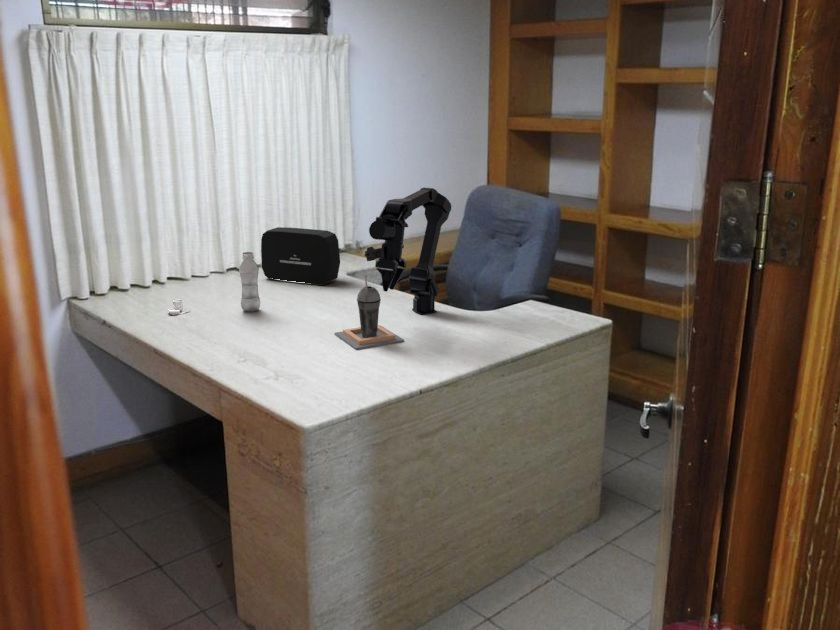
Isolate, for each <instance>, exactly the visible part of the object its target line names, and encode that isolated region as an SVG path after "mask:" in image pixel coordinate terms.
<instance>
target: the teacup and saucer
mask: <svg viewBox="0 0 840 630" xmlns="http://www.w3.org/2000/svg"><path fill="white" fill-rule="evenodd" d="M172 306H173V307H172V308H174V310H169V309H168V310H169V313H170V314H169V315H184V314H183V313H184V312H182V311H183V309H182V307H183V299H179V298H178V299H173V300H172ZM180 311H181V312H180ZM179 313H180V314H179Z"/></svg>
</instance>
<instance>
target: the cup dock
mask: <svg viewBox="0 0 840 630" xmlns="http://www.w3.org/2000/svg"><path fill="white" fill-rule="evenodd" d="M334 335H335V336H336V337H337V338H339V339H340V340H342V341H343V342H344V343H345V344H347V345H349V346H350V348H353V349H354V350H356V351H357V350H364V349H369V348H375V347H382V346H387V345H392V344H394V345H395V344H399V343H404V342H405V339H404V338H402V337H401V336H399V335H397V334H395V333H394V332H392V331H391V330H389V329H387V328H385V326H382V325H379V324H378V328H377V336H376V337H370V338H363V337H362V332H361V326H359V327H353V328H352V327H351V328H347V329H343V330H342V331H336V332H334Z"/></svg>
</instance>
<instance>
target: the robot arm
mask: <svg viewBox="0 0 840 630" xmlns="http://www.w3.org/2000/svg"><path fill="white" fill-rule="evenodd" d="M420 207H423V208H424V216H425V219H426V222H427V223H426V227H425V230H424V231H425V232H424V236H423V241H422V244H421V245H422V246H421V249H420V254H419V259H418V263H417V264H416V266H413V267H411V268H410V272H409V276H408V287H409V292H410V294H411V295H412V294H413V295H414V297H413V299H412V300H413V301H412V308H411V310H412V311H413V312H415V313H417V314H419V315H427V314H433V313H434V314H435V313H438V311H437V309H435V302H436V301H435V297H438V295H439V294H440V287H439V285H438V284H437V283H436V274H435V270H434V267H433V265H434V263H435V258H436V253H437V250H438V249H437V248H438V243H439V239H440V233H441V229H442V226H443V225H444V223H446V222H447V221H448V219H449V216H450V213H451V211H452V203H451V202H450V200H449V199H448V198H447V197H446V196H444V195H443V194H441V193H439V192H438V190H437V189H435V188H432V187H421V188H420V189H419V190H417V191H415V192H413V193H411V194H409V195H407V196H405V197H402V198H392V199H389V200H387V202H386V203H385V205H384V207H383V209H382V210H381V212H380V214H379V216H376V217H375V220H374V221H373V222H372V223H371V224H370V226H369V228H368V232H369V236H370V237H371V238H372V239H374V240H377V241H379V240H381V241H384V242H383V243H382V244H381V247H380V248H375V247H374V246H369V247H367V248H366V251H364V258H365V257H366V258H365V259H366V262H371V261H375V264H374V265H375V266H374V267H375V269H376V270H377V271H378V272H379V273H380V276H381V282H382V289H383V292H385V293H386V292H388V290H394V289H395V287H396V286H397V283H398V281H399V280H400V278H401V276H402V275H403V273H404V271H405V268H406V267H407V260H406V259H405V258H403V257H402V256H403V249H404V247H405V245H404V240H405V239H404V238H405V228H409V224H408V223H407V222H406V220H408V219H409V218H410V217H411V216H412V215H413V211H414V210H416V209H418V208H420Z"/></svg>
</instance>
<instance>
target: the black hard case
mask: <svg viewBox="0 0 840 630" xmlns="http://www.w3.org/2000/svg"><path fill="white" fill-rule="evenodd" d="M260 241H261V242H260V253H261V254H260V256H261V269H262V272H263V275H264V276H265V277H266V278H267V279H268V278H273V279H280V280H287V281H296V282H305V283H311V284H310V285H315V284H319V285H320V286H324V285H327V284H329V283H331V282H333V281H335V280H337V279H338V277H339V271H340V265H341V257H340V256H341V255H340V243H339V239H338V237H337V235H336V233H334V232H331V231H330V230H325V229H324V230H323V229H313V228H312V229H310V228H301V227H285V226H284V227H280V226H278V227H274V228H271V229H268V230H266V231H265V232H263V233H262V235H261V239H260ZM273 279H272V280H273Z"/></svg>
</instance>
